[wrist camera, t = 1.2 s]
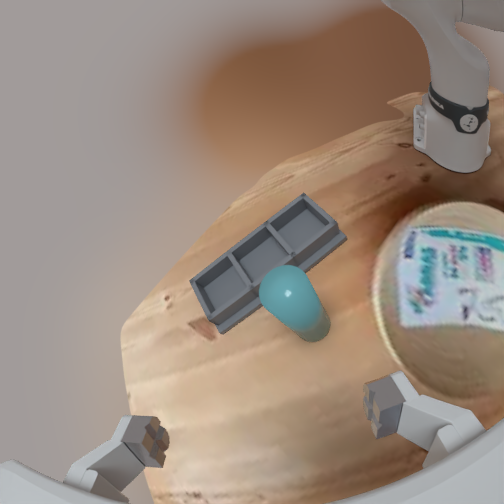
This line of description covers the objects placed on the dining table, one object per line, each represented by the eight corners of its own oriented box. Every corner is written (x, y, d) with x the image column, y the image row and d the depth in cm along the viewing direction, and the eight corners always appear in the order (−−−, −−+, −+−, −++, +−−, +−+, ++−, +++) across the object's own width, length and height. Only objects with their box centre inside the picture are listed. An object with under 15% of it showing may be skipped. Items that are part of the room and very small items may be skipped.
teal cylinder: (299, 307, 40) (264, 263, 28) (332, 309, 37) (313, 266, 25) (293, 339, 38) (253, 311, 26) (327, 343, 35) (304, 317, 23)
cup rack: (306, 201, 48) (301, 187, 45) (347, 239, 42) (344, 225, 38) (197, 285, 49) (185, 277, 46) (222, 334, 42) (210, 328, 39)
